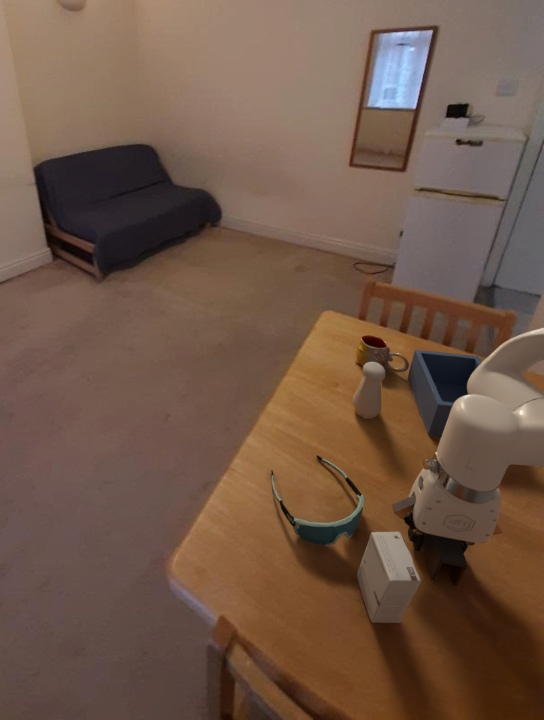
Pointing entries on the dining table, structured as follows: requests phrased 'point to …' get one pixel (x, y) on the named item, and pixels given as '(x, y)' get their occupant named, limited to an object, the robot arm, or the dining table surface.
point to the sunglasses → (325, 531)
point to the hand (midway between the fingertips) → (434, 544)
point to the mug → (377, 353)
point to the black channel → (444, 556)
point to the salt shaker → (369, 391)
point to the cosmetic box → (387, 577)
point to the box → (439, 385)
